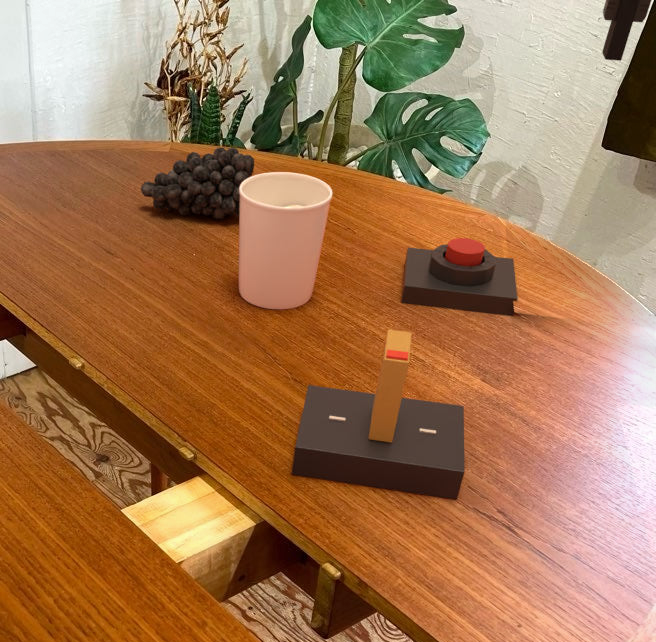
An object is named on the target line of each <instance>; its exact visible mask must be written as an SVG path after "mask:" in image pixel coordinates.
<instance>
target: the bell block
mask: <svg viewBox="0 0 656 642" xmlns="http://www.w3.org/2000/svg"><path fill="white" fill-rule="evenodd" d="M447 246H448V243H446V244H441V245H439V246H437V247H436V248H434V249H427V248H417V247H407V248H406V249H407V250H406V254H405V258H404V259H405V260H404V265H403V274H402V276H403V277H402V288H401V299H400V300H401V301H400V303H401V304H405V305H415V306H421V307H422V306H423V307H432V308H438V309H440V308H441V309H449V310H455V311H457V310H458V311H465V312H474V313H481V314H490V315H498V316H507V317H513V316H514V314H515V313H514V312H515V306H514V305H515V304H514V302H517V301H518V299H519V298H518V289H517V282H516V272H515V271H516V270H515V262H514V258H510V257H500V256H495V255H494V254H492V253H491V252H490V251H488V250H487V249H485V251H484V255H483V259H482V263H481V264H480V265H478V266H461V265H456V264H453V263H450V262H448V261H447V260H446V259H445V255H446V250H447Z"/></svg>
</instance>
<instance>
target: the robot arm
mask: <svg viewBox="0 0 656 642" xmlns="http://www.w3.org/2000/svg"><path fill="white" fill-rule="evenodd" d="M651 2H652V0H605V2H604V6H603V9H602V15H603V16H602V17H603V19H604V20H605V21H610V24H609V28H608V31H607V33H606V38H605V41H604V45H603V48H602V50H601V53H602V55H603V57H604V60H607V61H622V59H623V56H624V52H625V50H626V46H627V43H628V40H629V37H630V33H631V30H632V27H633V24H634V23H643V22H644V21H645V19H646V18H647V15H648V12H649V9H650V6H651Z"/></svg>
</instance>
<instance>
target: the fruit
mask: <svg viewBox="0 0 656 642" xmlns="http://www.w3.org/2000/svg"><path fill="white" fill-rule="evenodd" d="M185 160H186V161H185ZM185 160H182V159H179V160H176V161H175V162H174V163H173V166H172V169H171V170H169V171H168V172H167V174H166V173H165V172H158V173H156V174H155V176H154V182H153V181H144V182H143V183H142V184H141V187H140V192H141V194H142V195H143V196H144V197H145V198H146V197H147V198H152V199H153V200H152V205H153V207H154V208H155V209H156V210H159V211H162V210H165V209H167V210H169V211H171V212H172V211H175V210H176V209H178V212H179V214H180V215H182V216H188V215H189V214H190V213H191V212H192V213H193V214H195V215H200V214H202V215H204V216H210V215H212V217H213V218H214V219H215V220H223V219H224V218H225V216H232V215H234V216H236V217H239V207H240V195H239V187H240V185H241V183H242V182H243V181H244V180H246V179H247V178H249V177H252V176H253V174H254V168H255V158H254V157H253V156H252V155H250V154H243V153H241V152H240V151H239V150H238V149H237V148H235V147H230V148H228V149H226V148H225V147H218V148H215V149H214V151H213V153H209V152H207V153H205V154H203V156H202V157H201V156H200V154H199V153H198V152H195V151H192V152H190V153H188V155H187V156H186V159H185Z"/></svg>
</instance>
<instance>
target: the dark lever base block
mask: <svg viewBox="0 0 656 642" xmlns="http://www.w3.org/2000/svg"><path fill="white" fill-rule="evenodd" d="M374 398H375V393H371V392H363V391H357V390H349V389H342V388H335V387H334V388H333V387H326V386H319V385H313V384H308V385H307V389H306V393H305V398H304V405H303V408H302V412H301V417H300V418H301V419H300V422H299V426H298V427H299V428H298V431H297V436H296V441H295V446H294V452H293V453H294V454H293V462H292V468H291V475H294V476H299V477H305V478H314V479H318V480H319V479H321V480H327V481H333V482H339V483H344V484H345V483H346V484H352V485H353V484H354V485H358V486H365V487H372V488H379V489H386V490H391V491H398V492H405V493H412V494H416V495H417V494H418V495H425V496H431V497H438V498H444V499H450V500H458V497H459V493H460V491H461V487H462V483H463V480H464V475H465V469H466V468H465V467H466V465H465V407H464V405H461V404H453V403H452V404H451V403H444V402H438V401H430V400H422V399H415V398H407V397H402V399H401V403H400V408H399V413H398V417H397V422H396V427H395V431H394V436H393V441H392V443H390V442H383V441H376V440H370V439H369V431H370V424H371V417H372V409H373V404H374Z"/></svg>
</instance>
